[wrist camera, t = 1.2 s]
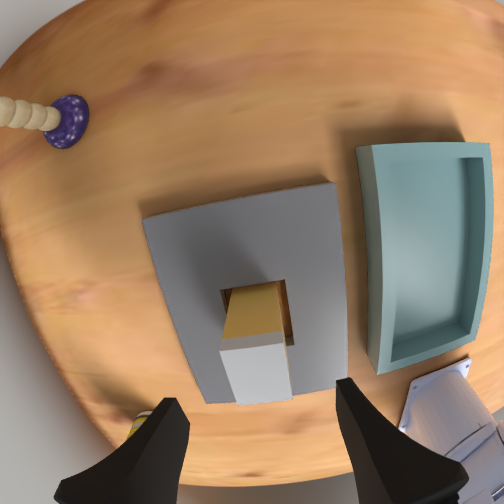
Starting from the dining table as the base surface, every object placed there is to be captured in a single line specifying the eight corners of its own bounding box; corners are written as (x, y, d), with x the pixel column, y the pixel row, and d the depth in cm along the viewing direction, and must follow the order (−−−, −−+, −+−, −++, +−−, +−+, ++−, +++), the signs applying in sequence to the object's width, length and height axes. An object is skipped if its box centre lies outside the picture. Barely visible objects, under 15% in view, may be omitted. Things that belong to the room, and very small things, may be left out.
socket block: (343, 375, 21) (347, 385, 20) (208, 394, 22) (206, 403, 21) (330, 181, 17) (335, 183, 16) (148, 216, 18) (141, 220, 17)
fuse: (284, 330, 20) (292, 399, 13) (244, 335, 20) (237, 405, 14) (275, 281, 19) (283, 342, 12) (232, 288, 19) (219, 351, 12)
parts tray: (459, 324, 20) (475, 339, 17) (366, 353, 21) (377, 375, 18) (466, 143, 15) (489, 143, 12) (355, 147, 16) (371, 145, 13)
